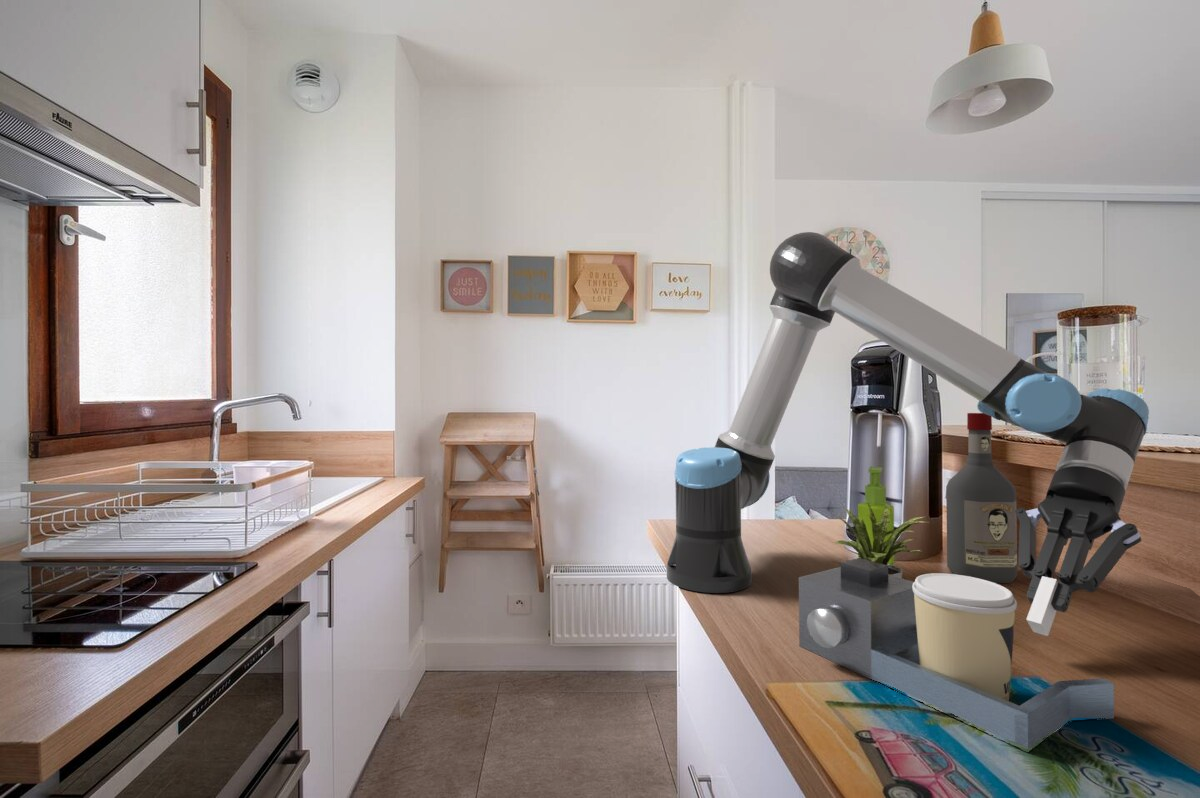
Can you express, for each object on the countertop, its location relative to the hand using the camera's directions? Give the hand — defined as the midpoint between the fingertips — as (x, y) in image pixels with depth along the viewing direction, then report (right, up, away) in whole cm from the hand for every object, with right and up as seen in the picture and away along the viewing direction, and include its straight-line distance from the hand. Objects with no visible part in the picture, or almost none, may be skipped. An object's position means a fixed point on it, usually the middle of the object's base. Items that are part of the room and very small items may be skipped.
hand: (1037, 627), depth 65 cm
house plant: (-10, -5, +16) cm, 20 cm away
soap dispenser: (-3, -5, +33) cm, 33 cm away
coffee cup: (-14, -4, -8) cm, 17 cm away
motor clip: (-15, -4, -4) cm, 16 cm away
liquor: (+17, -5, +33) cm, 37 cm away
